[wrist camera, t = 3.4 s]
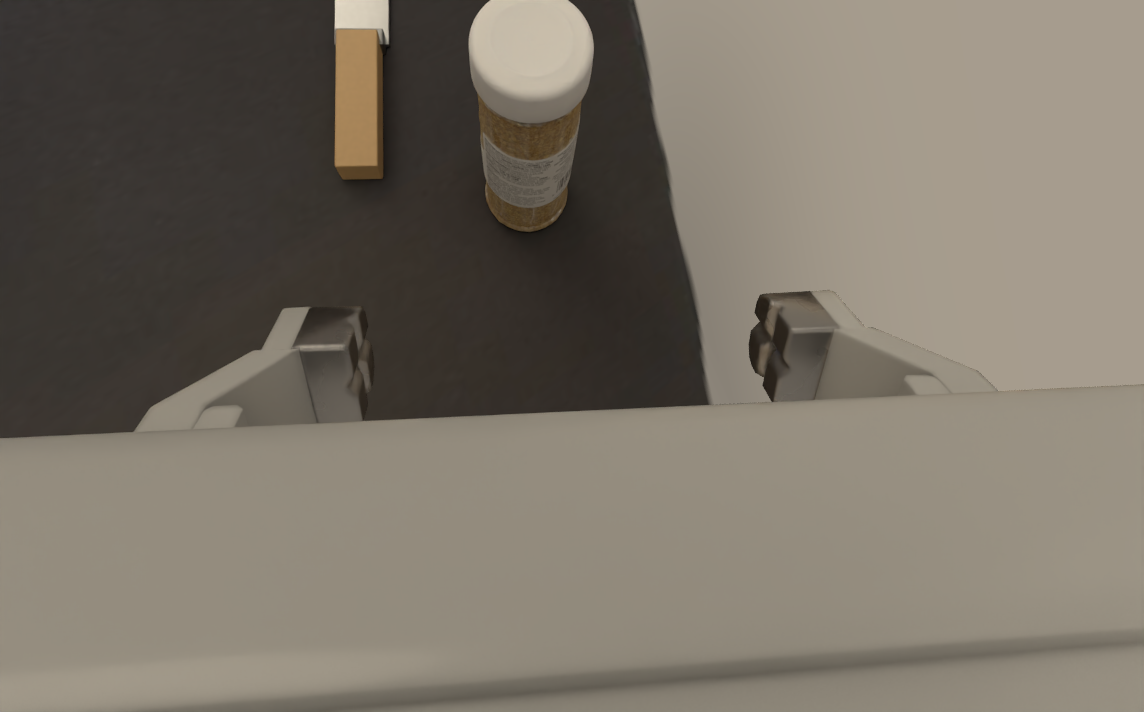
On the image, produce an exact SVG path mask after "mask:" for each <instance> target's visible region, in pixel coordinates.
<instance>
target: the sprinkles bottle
mask: <svg viewBox="0 0 1144 712" xmlns="http://www.w3.org/2000/svg"><path fill="white" fill-rule="evenodd" d="M593 53H594V44H593V37H592V33H591V30H590V27H589V25H588V23H587V21H586V19H585V18H584V16H583V15H582V13H581V12H580V11H579V10H578V9H577V8H576V7H575V6H574V5H573V4H572V3H571V2H570V1H568V0H490V1H489V2H488V3H486V4H485V5H484V7H483V8H482V9H481V10H480V11H479V13H478V14H477V16H476V17H475V19H474V21H473V24H472V26H471V30H470V35H469V59H470V69H471V76H472V80H473V84H474V86H475V89H476V91H477V93H478V102H479V118H480V127H481V149H482V158H483V168H484V174H485V178H486V187H485V194H486V200H487V203H488V206H489V208H490V210H491V212H492V213H493V215H494V216H495V217H496V218H497V220H498V221H499V222H501V223H502V224H504V225H506V226H507V227H509V228H512V229H514V230H517V231H525V232H531V231H537V230H540V229H542V228H545V227H547V226H549V225H550V224H552V223H553V222H554V221H556V220H557V219H558V217H559V215H560V214H561V213H562V211H563V208H564V207H565V205H566V201H567V184H568V181H569V178H570V174H571V168H572V163H573V157H574V151H575V146H576V140H577V134H578V128H579V122H580V109H581V101H582V98H583V96H584V95H585V93H586V90H587V88H588V85H589V81H590V76H591V70H592V62H593Z"/></svg>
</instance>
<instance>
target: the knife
mask: <svg viewBox="0 0 1144 712" xmlns="http://www.w3.org/2000/svg"><path fill="white" fill-rule="evenodd" d="M335 46H336V83H335V167H336V169H337V171H338V173H339V174H340V176H341V178H342V179H383V55H386V47H390V0H335Z"/></svg>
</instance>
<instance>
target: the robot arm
mask: <svg viewBox="0 0 1144 712" xmlns="http://www.w3.org/2000/svg"><path fill="white" fill-rule="evenodd" d="M755 314H756V316H757V317H758V319H759V321H760V322H759V323H758V324H757V325H756V326H755V327H754V328H753V329H752V330H751V334H750V340H749V357H750V361H751V364H752V367H753V369H754V371H755V373H757V374H759V375H760V376H762V377H764V382H763V387H764V389H765V390H766V392H767V394H768V396H769V398H770V399H771V401H772V402H762V403H741V404H722V405H699V406H678V407H657V408H635V409H614V410H592V411H571V412H549V413H528V414H506V415H485V416H463V417H442V418H420V419H399V420H377V421H364V418H365V414H366V410H367V406H368V399H367V394H366V393H367V392H369V391H370V390H371V389H372V385H373V381H374V357H373V350H372V345H371V344H370V343H369V342H368V341H367V340H366V339H365V336H366V332H367V329H368V322H367V317H366V313H365V310H364V308H363V307H312V308H311V307H297V308H285V309H283V310H282V311H281V313H280V315H279V317H278V319H277V321H276V323H275V325H274V327H273V328H272V330H271V332H270V334H269V336H268V338H267V340H266V342H265V344H264V346H263V348H262V350H255V351H252V352H250V353H248V354H246V355H244V356H243V357H241V358H239V359H237V360H235V361H234V362H232V363H230V364H228V365H226V366H224V367H223V368H221V369H219V370H217V371H215V372H214V373H212V374H210V375H208V376H206V377H204V378H203V379H201V380H199V381H197V382H195V383H194V384H192V385H190V386H188V387H186V388H184V389H183V390H181V391H179V392H177V393H175V394H174V395H172V396H170V397H168V398H166V399H164V400H163V401H161V402H159V403H157V404H155V405H154V406H152V407H150V409H149V410H148V412H147V413H146V414H145V416H144V417H143V419H142V420H141V422H140V423H139V425H138V426H137V428H136V429H135V431H134V432H125V433H104V434H83V435H61V436H40V437H19V438H0V712H1144V384H1141V385H1123V386H1101V387H1079V388H1057V389H1035V390H1017V391H1015V390H1014V391H998V390H997V389H996V388H995V387H994V386H993V385H992V384H991V383H990V382H989V381H988V380H987V379H986V378H985V377H984V376H983V375H982V374H981V373H979V372H978V371H977V370H974V369H972V368H969V367H967V366H964V365H962V364H960V363H957V362H955V361H953V360H950V359H948V358H945V357H943V356H941V355H938V354H936V353H933V352H931V351H928V350H926V349H924V348H921V347H919V346H916V345H914V344H912V343H909V342H907V341H904V340H902V339H899V338H897V337H895V336H892V335H890V334H888V333H885V332H883V331H880V330H878V329H876V328H873V327H871V328H870V327H868V328H866V327H865V326H864V325H863V324H862V323H861V322H860V320H859V319H858V318H857V317H856V316H855V315H854V314H853V312H852V311H851V310H850V309H849V308H848V307H847V306H846V304H845V303H844V302H843V301H842V300H841V299H840V298H839V297H838V296H837V294H836V293H835V292H833V291H830V290H823V291H805V292H788V293H770V294H762V295H760V296H759V298H758V301H757V304H756V308H755Z"/></svg>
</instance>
